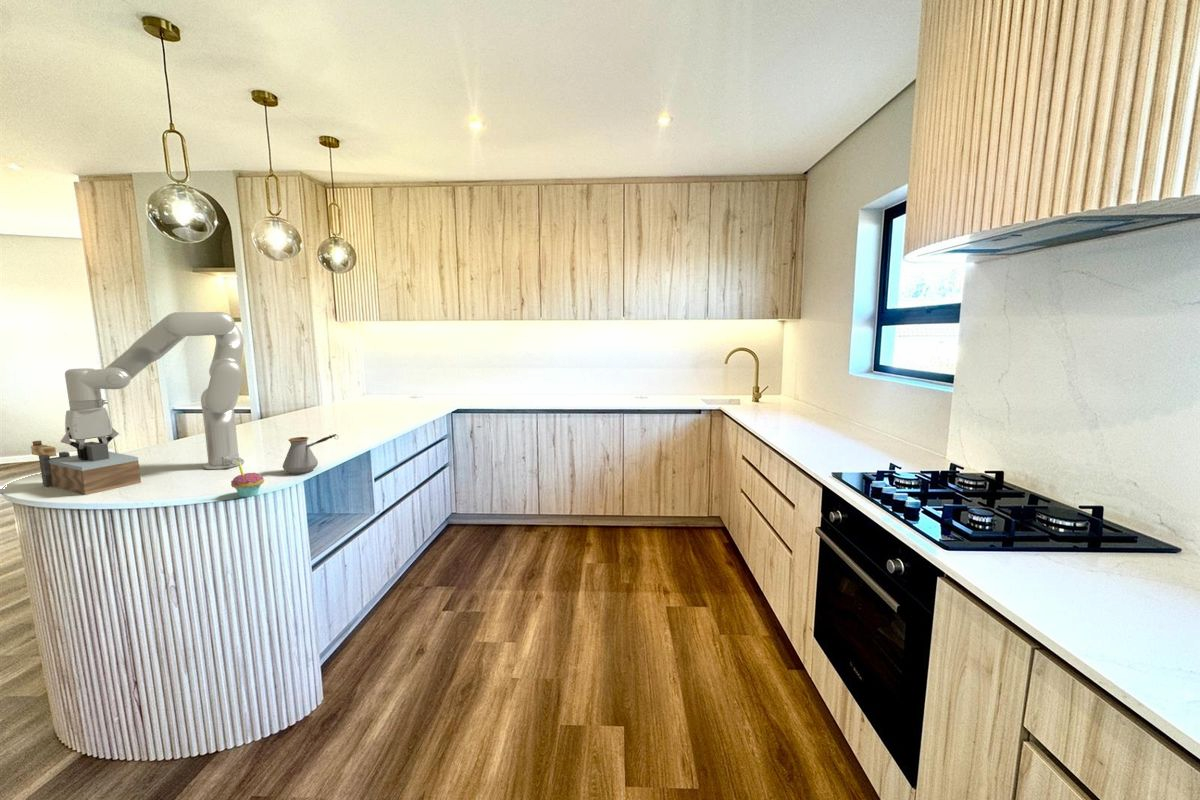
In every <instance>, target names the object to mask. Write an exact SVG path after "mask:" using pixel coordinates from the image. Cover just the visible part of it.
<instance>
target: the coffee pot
mask: <svg viewBox="0 0 1200 800" xmlns="http://www.w3.org/2000/svg"><path fill="white" fill-rule="evenodd" d="M336 436H337V439H339V435H338V434H336V433H334V434H332V435H328V436H326V437H323V438H321V439H319V440H317V441H315V442H312V443H310V444H308V440H309V436H308V437H307V436H298V437H291V438H289V439H288V442H289V443H290V446H289V448H288V451H287V453H286V456H285V459H284V461H283V465H282V468H283V470H284V471H285V472H287V473H289V474H290V473H292V474H291V475H303V474H304V475H305V474H308V473H311V472H313V471H314V469H316V468H317V467H318V464H319V461H318V459H317V457H316V455H314V453H313V451H312V449H311V447H312V446H314V445H318V444H320V443H323V442H327V441H328V440H330V439H332V438H334V439H336Z"/></svg>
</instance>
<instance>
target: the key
mask: <svg viewBox="0 0 1200 800" xmlns="http://www.w3.org/2000/svg"><path fill="white" fill-rule="evenodd" d="M30 449H31V454H32V455H34V456H38V457H39V456H40V455H49V456H50V458H52V457H55V456H57V451H56V449H57V448H56V447H55V446H51V445H45V444H43V442H42V440H34V441H32V445H30Z"/></svg>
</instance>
